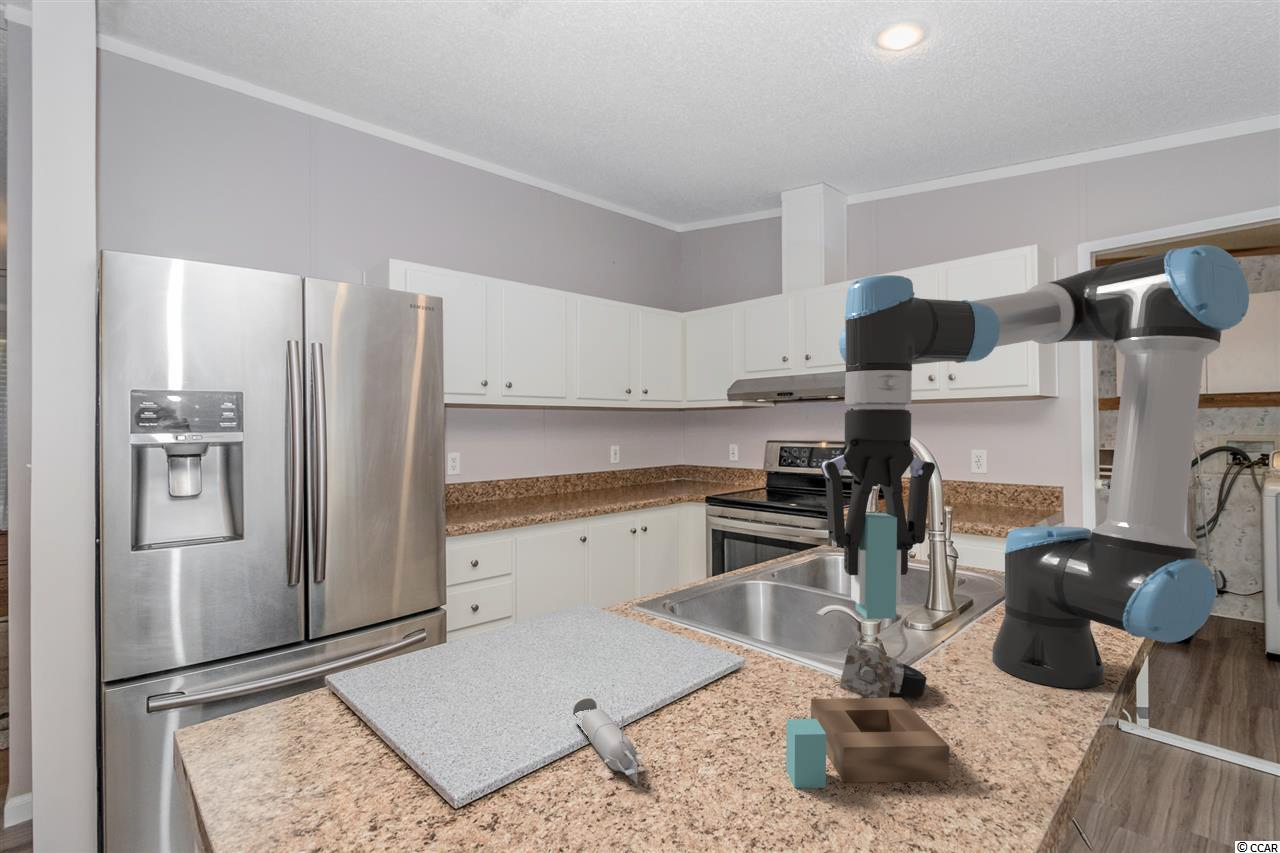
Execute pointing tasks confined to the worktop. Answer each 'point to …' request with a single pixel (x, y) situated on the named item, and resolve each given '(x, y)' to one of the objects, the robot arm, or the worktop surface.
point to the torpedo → (608, 738)
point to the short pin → (806, 753)
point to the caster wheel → (878, 674)
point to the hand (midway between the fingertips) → (875, 600)
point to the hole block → (880, 741)
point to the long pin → (879, 566)
